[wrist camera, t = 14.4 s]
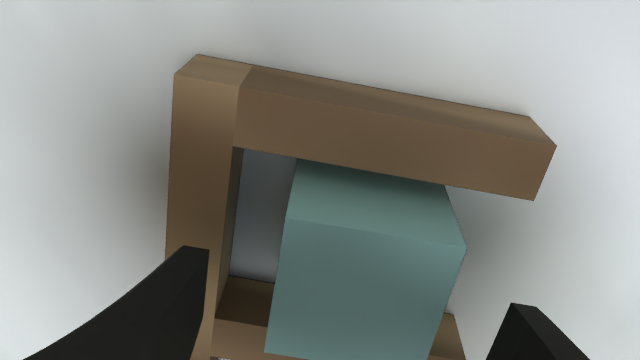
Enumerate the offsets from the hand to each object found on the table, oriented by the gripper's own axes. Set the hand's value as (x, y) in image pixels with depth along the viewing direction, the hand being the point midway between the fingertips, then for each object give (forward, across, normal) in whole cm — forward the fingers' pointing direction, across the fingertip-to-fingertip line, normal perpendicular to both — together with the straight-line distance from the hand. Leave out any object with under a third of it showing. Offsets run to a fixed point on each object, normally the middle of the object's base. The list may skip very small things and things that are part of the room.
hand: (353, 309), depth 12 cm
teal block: (+4, 0, 0) cm, 4 cm away
